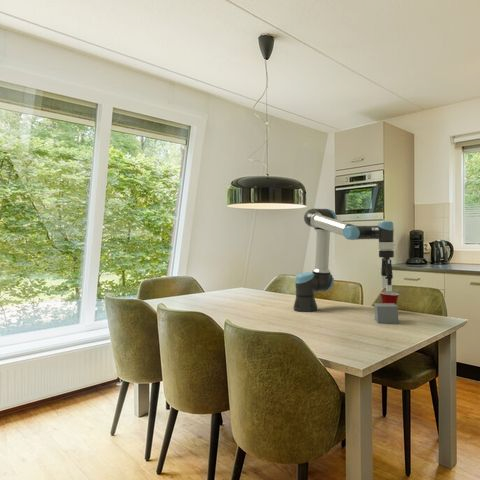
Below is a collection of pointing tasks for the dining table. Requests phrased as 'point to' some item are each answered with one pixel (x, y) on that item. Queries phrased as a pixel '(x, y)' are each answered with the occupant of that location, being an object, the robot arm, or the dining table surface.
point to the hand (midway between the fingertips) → (386, 289)
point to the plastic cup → (389, 297)
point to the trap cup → (386, 313)
